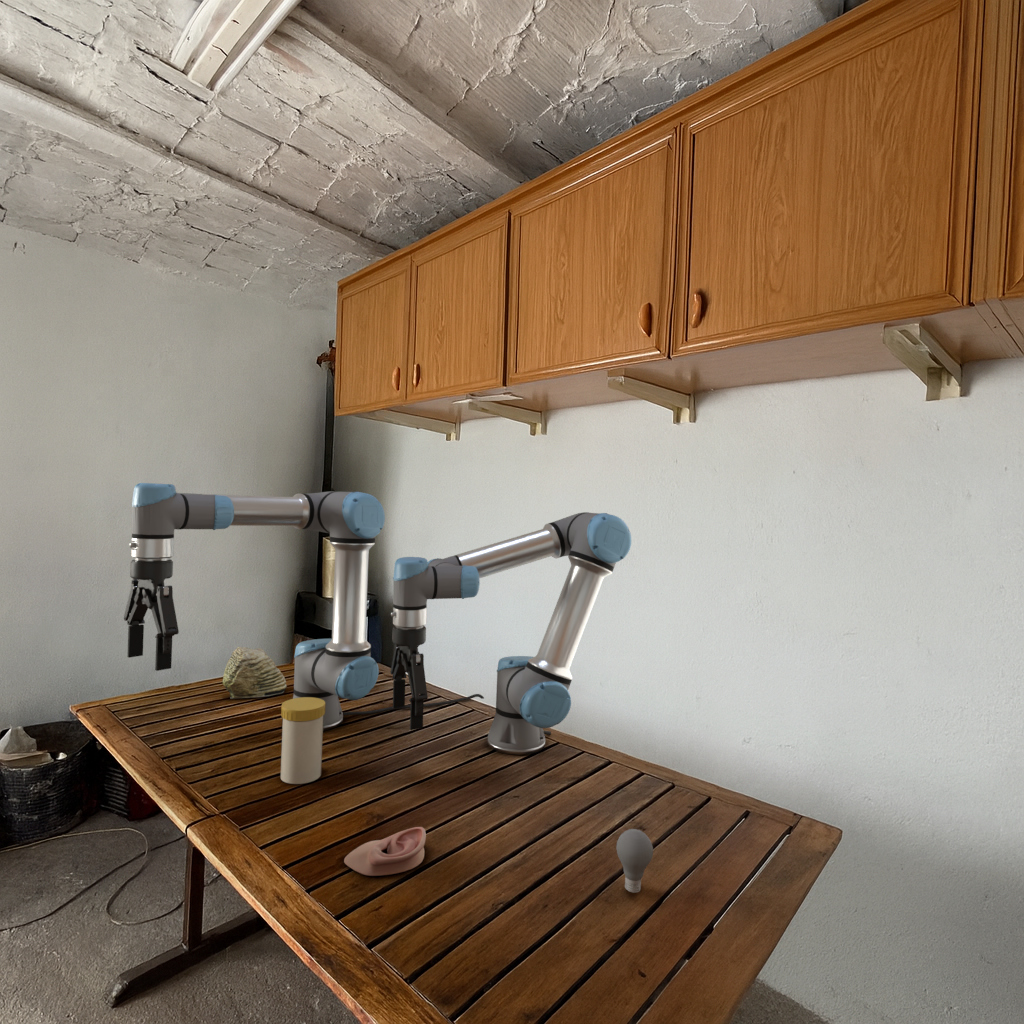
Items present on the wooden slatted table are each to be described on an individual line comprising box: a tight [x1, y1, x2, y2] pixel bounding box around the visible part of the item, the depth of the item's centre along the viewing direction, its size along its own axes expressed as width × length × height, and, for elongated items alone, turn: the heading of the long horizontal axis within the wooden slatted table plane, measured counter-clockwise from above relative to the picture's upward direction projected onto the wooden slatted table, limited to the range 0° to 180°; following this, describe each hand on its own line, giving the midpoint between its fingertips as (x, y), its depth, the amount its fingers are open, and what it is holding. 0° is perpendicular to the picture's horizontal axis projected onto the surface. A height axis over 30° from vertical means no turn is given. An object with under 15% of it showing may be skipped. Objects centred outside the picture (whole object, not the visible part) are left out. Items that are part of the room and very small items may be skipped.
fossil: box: [222, 646, 288, 699], centre depth 198 cm, size 9×18×15 cm, turn 132°
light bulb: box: [615, 828, 654, 894], centre depth 106 cm, size 6×6×10 cm
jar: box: [279, 716, 324, 785], centre depth 143 cm, size 9×9×16 cm
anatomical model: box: [343, 826, 427, 877], centre depth 112 cm, size 13×4×12 cm
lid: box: [280, 697, 325, 721], centre depth 143 cm, size 9×9×2 cm
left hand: (148, 662), depth 129 cm, fingers open, 13 cm apart
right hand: (407, 717), depth 145 cm, fingers open, 13 cm apart
